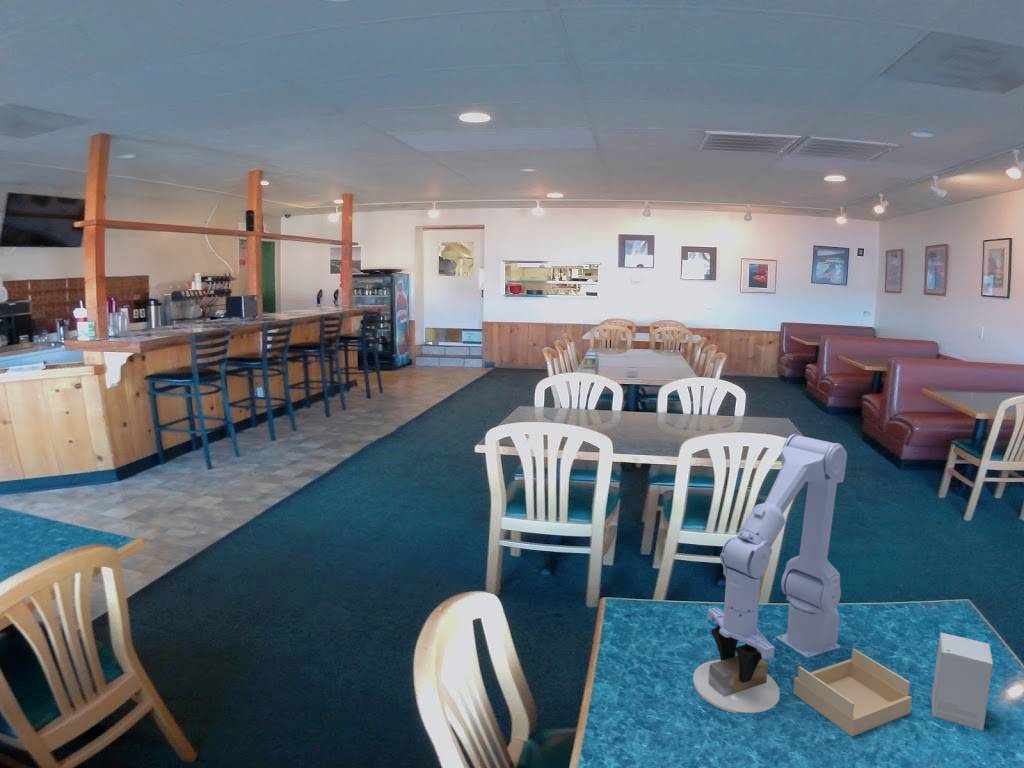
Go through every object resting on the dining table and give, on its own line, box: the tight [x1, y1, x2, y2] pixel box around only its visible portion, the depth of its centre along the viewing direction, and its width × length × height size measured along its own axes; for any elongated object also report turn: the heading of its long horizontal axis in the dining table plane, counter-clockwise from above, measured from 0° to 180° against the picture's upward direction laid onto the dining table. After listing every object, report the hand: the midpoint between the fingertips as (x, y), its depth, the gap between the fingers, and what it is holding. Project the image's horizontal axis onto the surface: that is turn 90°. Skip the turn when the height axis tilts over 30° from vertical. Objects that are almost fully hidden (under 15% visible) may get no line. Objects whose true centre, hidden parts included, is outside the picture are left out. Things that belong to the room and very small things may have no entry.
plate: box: [692, 659, 781, 715], centre depth 121 cm, size 15×15×1 cm
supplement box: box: [931, 632, 994, 731], centre depth 113 cm, size 7×7×13 cm
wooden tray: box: [792, 648, 913, 737], centre depth 116 cm, size 14×12×6 cm
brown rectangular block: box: [709, 655, 769, 697], centre depth 121 cm, size 10×4×4 cm, turn 114°
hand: (736, 673), depth 121 cm, fingers closed on brown rectangular block, 4 cm apart
